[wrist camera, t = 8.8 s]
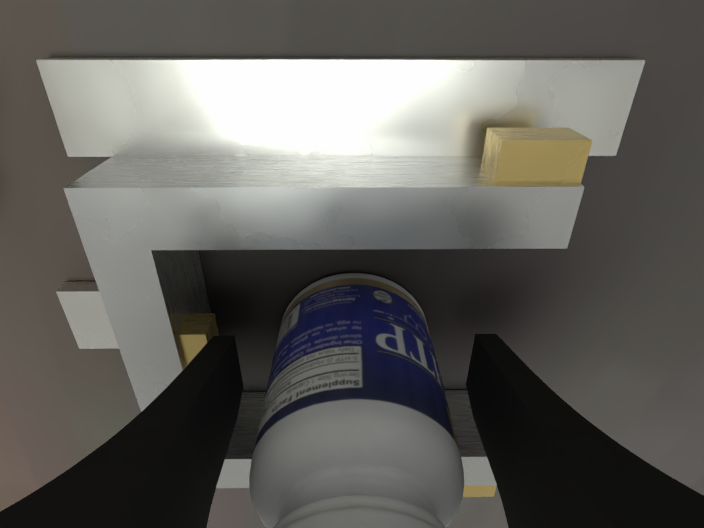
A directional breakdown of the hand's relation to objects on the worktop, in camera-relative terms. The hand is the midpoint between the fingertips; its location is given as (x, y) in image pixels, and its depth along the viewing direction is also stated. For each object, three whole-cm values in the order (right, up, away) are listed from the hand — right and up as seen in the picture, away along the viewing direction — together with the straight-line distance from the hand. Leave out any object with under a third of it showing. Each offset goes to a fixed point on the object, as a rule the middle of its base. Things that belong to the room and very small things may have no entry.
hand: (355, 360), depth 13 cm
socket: (-1, +1, +2) cm, 3 cm away
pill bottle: (0, +1, +3) cm, 3 cm away
